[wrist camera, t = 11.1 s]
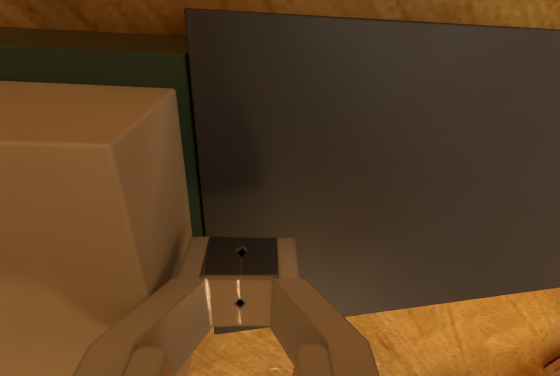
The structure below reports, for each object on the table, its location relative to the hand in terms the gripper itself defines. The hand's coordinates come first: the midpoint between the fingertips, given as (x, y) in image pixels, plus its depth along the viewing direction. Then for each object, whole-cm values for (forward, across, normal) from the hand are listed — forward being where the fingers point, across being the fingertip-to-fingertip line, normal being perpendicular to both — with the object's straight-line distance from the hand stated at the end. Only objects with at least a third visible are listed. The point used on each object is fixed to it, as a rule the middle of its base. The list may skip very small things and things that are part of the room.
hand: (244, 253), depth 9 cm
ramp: (+7, -16, 0) cm, 17 cm away
